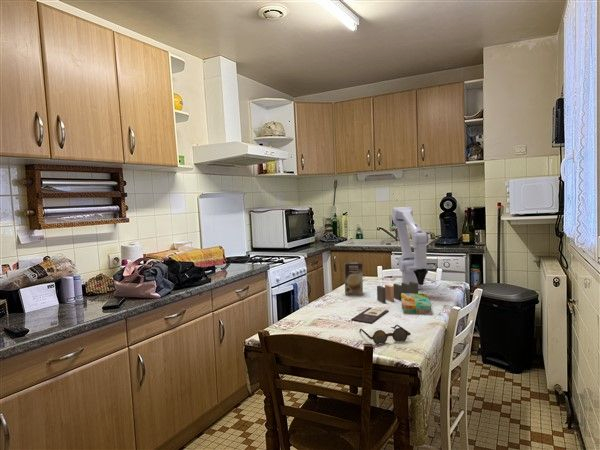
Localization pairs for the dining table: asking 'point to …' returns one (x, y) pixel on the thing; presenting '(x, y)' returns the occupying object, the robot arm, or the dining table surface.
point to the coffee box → (353, 278)
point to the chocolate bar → (370, 315)
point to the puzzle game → (415, 303)
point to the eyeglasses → (397, 335)
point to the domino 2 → (389, 292)
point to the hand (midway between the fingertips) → (420, 284)
